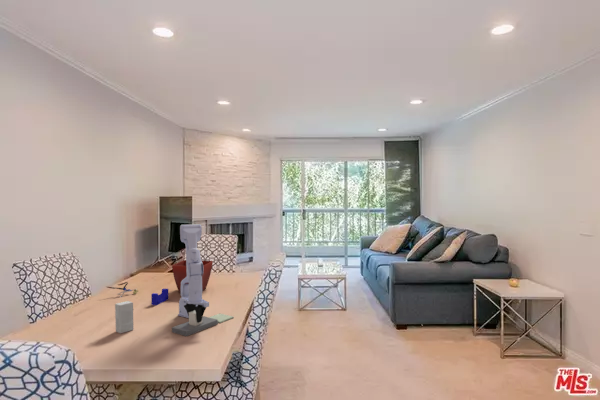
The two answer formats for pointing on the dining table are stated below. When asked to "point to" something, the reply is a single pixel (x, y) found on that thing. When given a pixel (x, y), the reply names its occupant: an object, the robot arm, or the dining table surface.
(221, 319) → the mat
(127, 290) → the figurine
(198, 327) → the gray square hole board
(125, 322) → the skincare box
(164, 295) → the cable clip
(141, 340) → the dining table surface
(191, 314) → the plug
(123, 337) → the dining table surface
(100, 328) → the dining table surface
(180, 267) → the plant pot
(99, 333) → the dining table surface
